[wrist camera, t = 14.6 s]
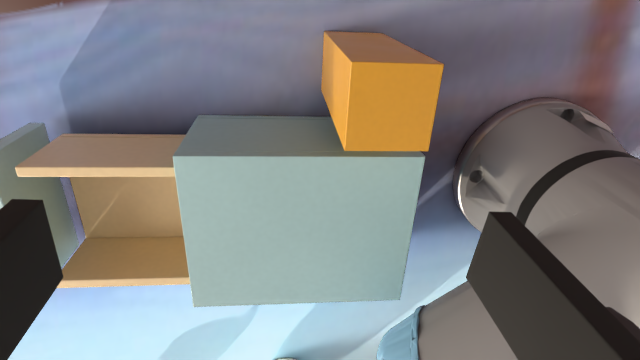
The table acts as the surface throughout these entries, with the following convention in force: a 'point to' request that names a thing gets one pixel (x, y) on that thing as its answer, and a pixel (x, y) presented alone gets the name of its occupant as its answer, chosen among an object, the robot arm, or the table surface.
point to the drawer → (103, 203)
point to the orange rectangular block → (379, 91)
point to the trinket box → (286, 359)
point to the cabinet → (292, 212)
